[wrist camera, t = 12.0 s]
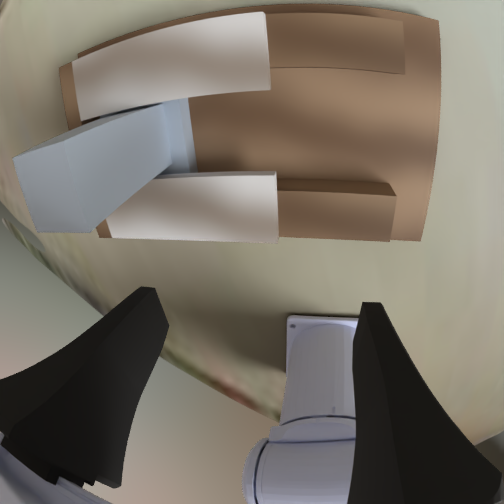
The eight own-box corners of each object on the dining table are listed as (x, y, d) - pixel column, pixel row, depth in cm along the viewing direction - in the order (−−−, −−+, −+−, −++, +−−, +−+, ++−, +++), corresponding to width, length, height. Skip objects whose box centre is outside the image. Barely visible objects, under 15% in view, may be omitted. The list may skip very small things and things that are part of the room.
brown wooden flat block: (416, 233, 18) (431, 265, 15) (122, 224, 22) (97, 249, 19) (432, 22, 10) (458, 14, 7) (86, 53, 14) (51, 57, 12)
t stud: (198, 171, 18) (117, 256, 10) (124, 177, 19) (33, 250, 11) (186, 82, 14) (77, 107, 7) (108, 99, 16) (-3, 141, 8)
